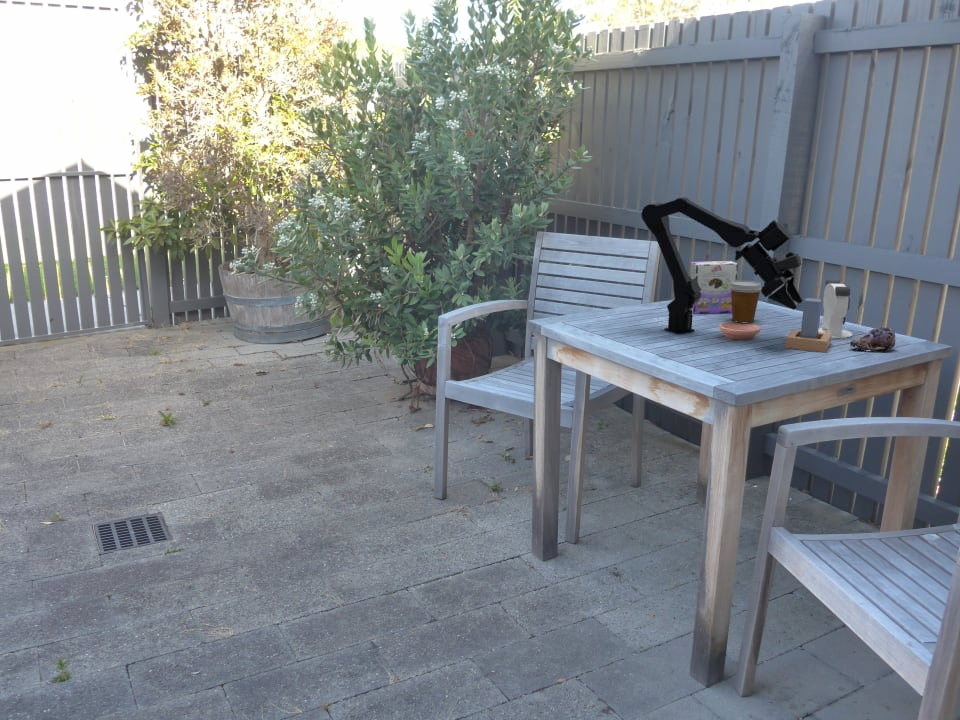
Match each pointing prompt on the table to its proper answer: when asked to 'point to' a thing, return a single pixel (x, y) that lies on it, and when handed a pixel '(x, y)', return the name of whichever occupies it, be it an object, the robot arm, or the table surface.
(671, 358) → the table surface
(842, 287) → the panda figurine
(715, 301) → the candy box
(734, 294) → the disposable coffee cup
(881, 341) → the skull
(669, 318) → the robot arm
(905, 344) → the table surface
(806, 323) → the post
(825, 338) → the frame
